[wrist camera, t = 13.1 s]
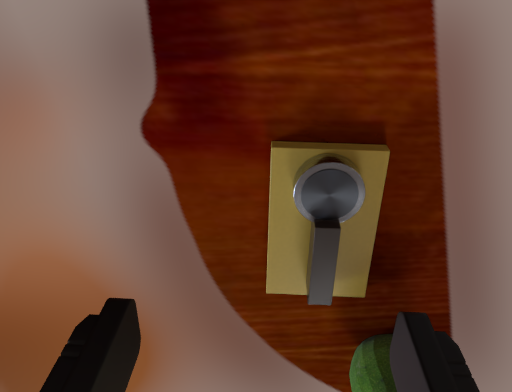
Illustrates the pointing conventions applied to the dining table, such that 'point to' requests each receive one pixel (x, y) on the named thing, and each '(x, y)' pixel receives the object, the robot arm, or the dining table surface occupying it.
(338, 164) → the frying pan
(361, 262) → the board
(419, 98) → the dining table surface
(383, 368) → the avocado
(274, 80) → the dining table surface
